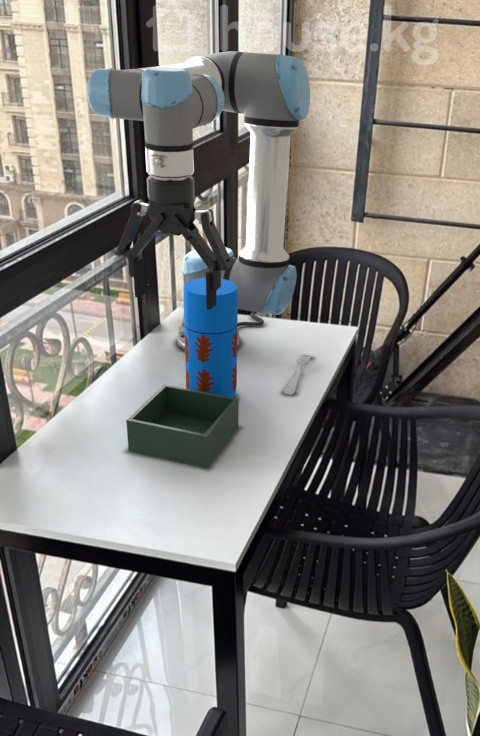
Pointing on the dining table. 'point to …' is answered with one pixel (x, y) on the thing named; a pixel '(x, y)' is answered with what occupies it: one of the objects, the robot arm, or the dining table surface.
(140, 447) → the box
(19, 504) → the dining table surface
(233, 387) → the thermos
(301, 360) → the fork
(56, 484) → the dining table surface
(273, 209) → the robot arm
